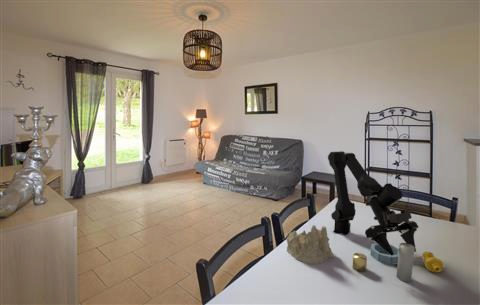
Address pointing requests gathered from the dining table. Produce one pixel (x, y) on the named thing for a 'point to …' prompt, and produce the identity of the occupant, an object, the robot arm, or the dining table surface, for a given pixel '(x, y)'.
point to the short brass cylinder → (359, 262)
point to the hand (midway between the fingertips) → (403, 253)
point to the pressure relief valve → (430, 262)
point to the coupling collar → (384, 257)
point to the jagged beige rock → (309, 245)
